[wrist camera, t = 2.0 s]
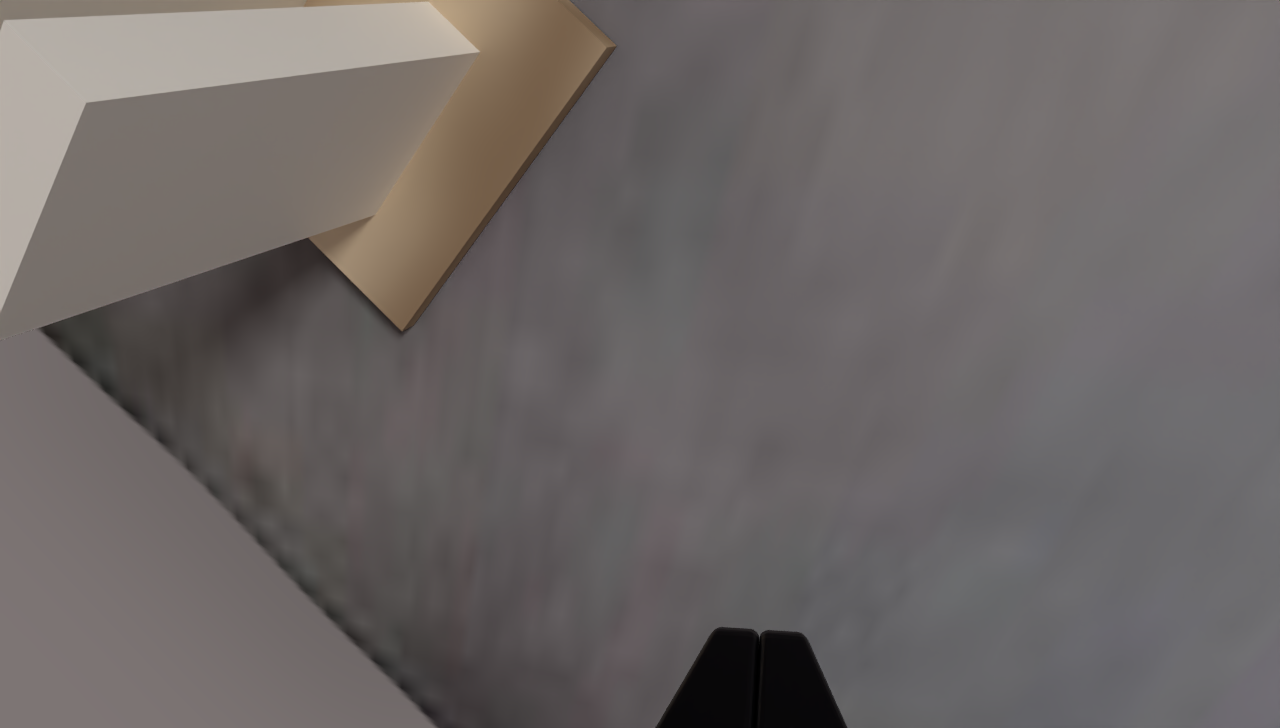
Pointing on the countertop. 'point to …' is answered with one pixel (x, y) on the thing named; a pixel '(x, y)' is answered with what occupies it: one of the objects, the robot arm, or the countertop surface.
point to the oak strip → (469, 147)
